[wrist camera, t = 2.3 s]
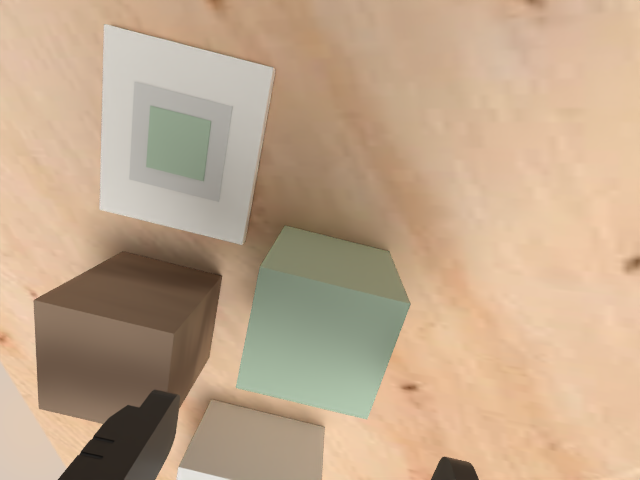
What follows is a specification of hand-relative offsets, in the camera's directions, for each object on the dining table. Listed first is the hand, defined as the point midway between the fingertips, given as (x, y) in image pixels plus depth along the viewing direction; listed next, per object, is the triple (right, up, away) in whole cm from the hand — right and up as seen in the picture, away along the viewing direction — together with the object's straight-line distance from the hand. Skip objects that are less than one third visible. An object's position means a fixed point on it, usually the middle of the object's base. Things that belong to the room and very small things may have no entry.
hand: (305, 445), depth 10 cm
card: (-7, +11, +7) cm, 15 cm away
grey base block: (-4, -9, +14) cm, 17 cm away
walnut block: (-9, +2, +11) cm, 14 cm away
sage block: (+1, +4, +9) cm, 10 cm away
